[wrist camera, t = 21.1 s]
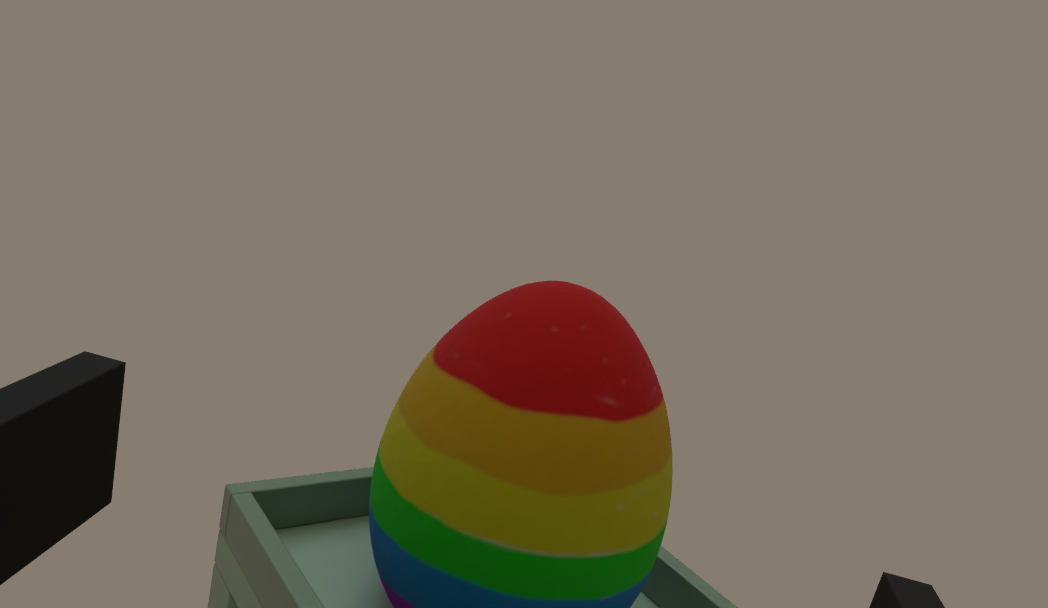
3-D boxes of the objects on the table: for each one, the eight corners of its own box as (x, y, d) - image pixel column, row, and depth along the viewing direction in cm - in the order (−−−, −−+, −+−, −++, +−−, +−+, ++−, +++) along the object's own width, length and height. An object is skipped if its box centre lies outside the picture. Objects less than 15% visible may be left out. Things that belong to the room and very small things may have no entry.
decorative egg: (549, 524, 29) (621, 256, 27) (681, 692, 23) (796, 355, 20) (321, 535, 26) (378, 225, 23) (396, 743, 19) (490, 333, 16)
